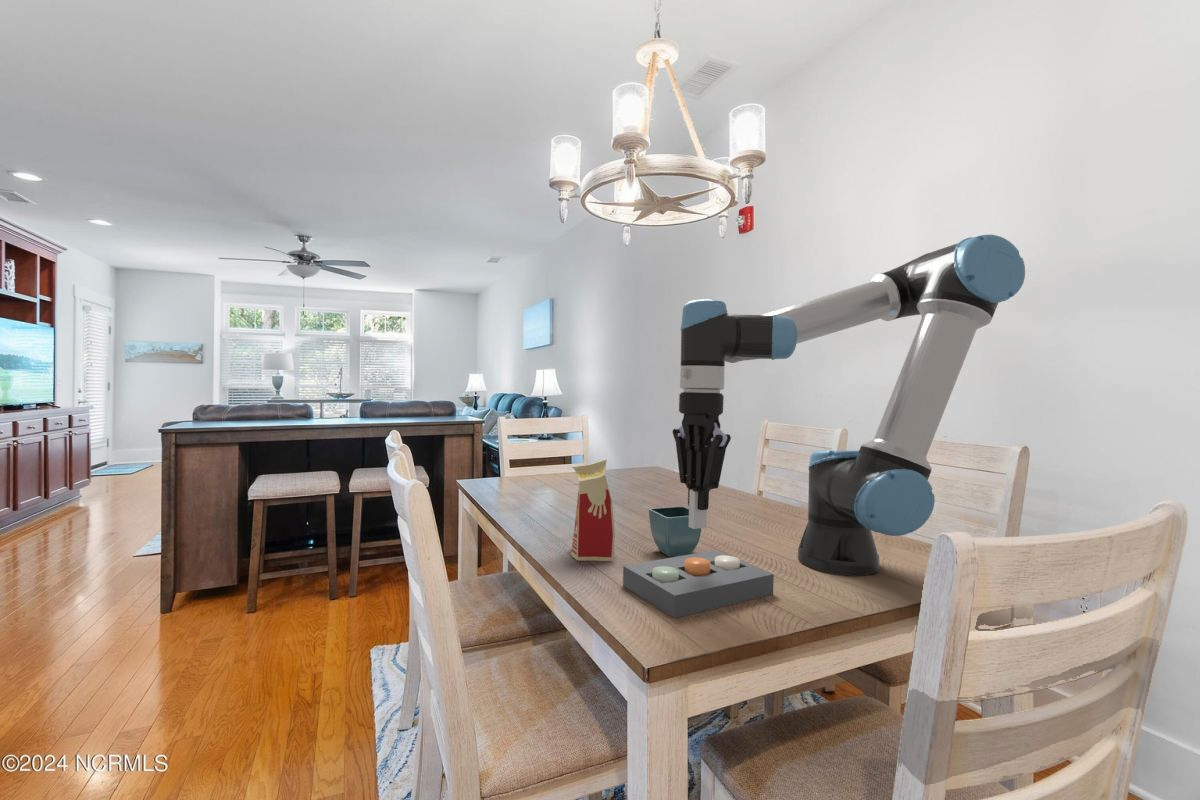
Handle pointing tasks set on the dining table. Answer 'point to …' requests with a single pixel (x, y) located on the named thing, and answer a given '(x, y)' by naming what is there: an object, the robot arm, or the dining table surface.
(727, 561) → the cream button
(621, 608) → the dining table surface
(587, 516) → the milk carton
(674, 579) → the sage button
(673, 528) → the flower pot
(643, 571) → the button panel
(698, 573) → the orange button
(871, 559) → the robot arm
